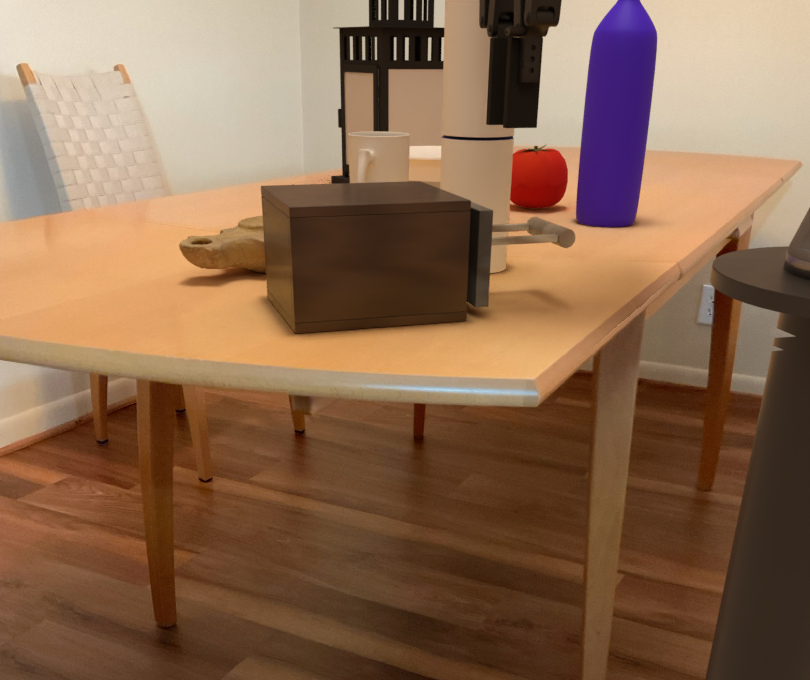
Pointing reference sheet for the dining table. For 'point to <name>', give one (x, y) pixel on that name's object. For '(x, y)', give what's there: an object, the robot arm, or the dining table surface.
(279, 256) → the cabinet
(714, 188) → the dining table surface
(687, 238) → the dining table surface
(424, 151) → the bowl
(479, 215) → the drawer
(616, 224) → the bottle
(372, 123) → the lantern
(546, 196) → the tomato
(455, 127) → the cylindrical container
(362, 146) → the mug
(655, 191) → the dining table surface
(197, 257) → the oil lamp
